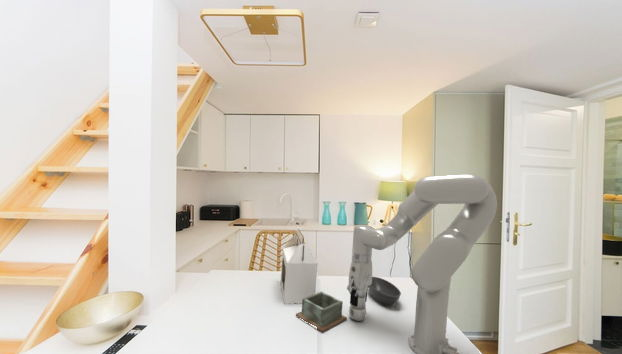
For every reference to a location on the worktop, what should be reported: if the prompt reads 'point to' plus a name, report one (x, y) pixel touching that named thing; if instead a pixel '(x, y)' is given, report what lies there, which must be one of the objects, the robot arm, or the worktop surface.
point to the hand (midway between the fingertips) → (358, 302)
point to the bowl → (384, 292)
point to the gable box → (298, 270)
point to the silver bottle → (359, 305)
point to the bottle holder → (322, 311)
